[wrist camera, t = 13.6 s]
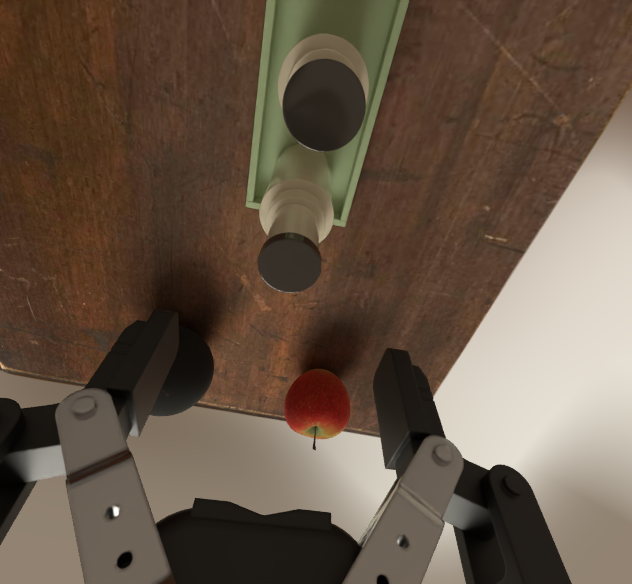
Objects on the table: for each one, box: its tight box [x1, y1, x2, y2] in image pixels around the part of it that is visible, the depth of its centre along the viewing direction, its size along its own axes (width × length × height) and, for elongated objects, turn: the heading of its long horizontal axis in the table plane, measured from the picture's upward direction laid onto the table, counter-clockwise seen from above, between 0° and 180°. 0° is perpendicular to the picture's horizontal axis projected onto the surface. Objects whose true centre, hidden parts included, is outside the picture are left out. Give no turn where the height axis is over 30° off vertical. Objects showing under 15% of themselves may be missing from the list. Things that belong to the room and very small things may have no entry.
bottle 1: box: [278, 34, 369, 152], centre depth 20 cm, size 5×5×16 cm
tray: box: [246, 0, 409, 227], centre depth 27 cm, size 22×9×2 cm, turn 168°
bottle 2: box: [258, 144, 334, 293], centre depth 25 cm, size 5×5×16 cm
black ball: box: [149, 326, 214, 416], centre depth 40 cm, size 10×10×10 cm
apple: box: [284, 369, 350, 450], centre depth 43 cm, size 8×8×10 cm
